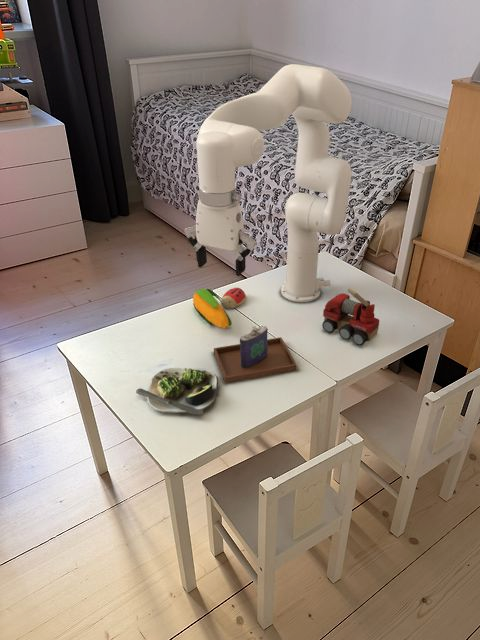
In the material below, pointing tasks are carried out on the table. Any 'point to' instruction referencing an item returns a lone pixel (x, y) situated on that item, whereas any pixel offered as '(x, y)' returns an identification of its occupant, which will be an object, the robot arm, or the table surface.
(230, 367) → the tray
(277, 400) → the table surface
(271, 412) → the table surface
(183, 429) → the table surface
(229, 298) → the ladybug figurine
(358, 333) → the toy fire truck
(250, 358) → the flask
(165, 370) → the avocado toast plate
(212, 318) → the corn
